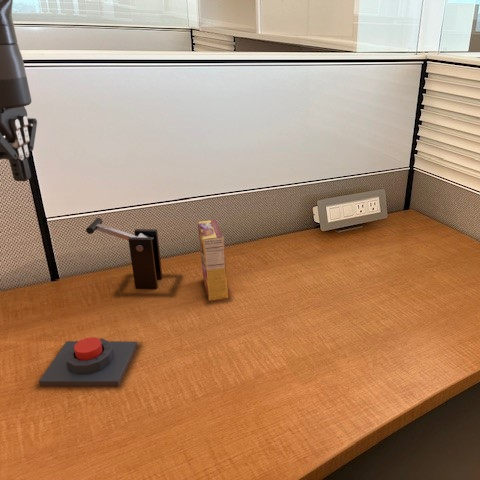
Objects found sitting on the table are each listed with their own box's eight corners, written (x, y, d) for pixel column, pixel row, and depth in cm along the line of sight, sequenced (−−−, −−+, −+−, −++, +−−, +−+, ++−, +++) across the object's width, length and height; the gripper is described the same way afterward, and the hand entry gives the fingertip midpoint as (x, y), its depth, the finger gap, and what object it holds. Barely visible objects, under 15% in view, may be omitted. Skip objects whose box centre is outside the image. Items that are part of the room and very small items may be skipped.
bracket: (117, 297, 99) (108, 242, 94) (129, 278, 106) (121, 225, 101) (171, 298, 100) (165, 243, 94) (179, 279, 107) (174, 226, 101)
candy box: (202, 284, 105) (197, 220, 99) (221, 282, 107) (218, 218, 100) (207, 306, 98) (202, 238, 91) (228, 303, 99) (225, 236, 92)
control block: (40, 389, 75) (36, 372, 73) (68, 349, 84) (64, 332, 82) (119, 389, 76) (116, 372, 74) (138, 349, 85) (135, 333, 83)
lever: (84, 234, 94) (87, 224, 93) (94, 224, 99) (96, 214, 98) (145, 254, 97) (148, 244, 96) (152, 243, 101) (155, 234, 100)
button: (71, 361, 76) (69, 352, 76) (81, 345, 80) (80, 337, 79) (97, 361, 77) (95, 352, 76) (106, 345, 80) (104, 337, 80)
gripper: (-3, 68, 81) (20, 168, 88) (-55, 78, 69) (-23, 192, 76) (43, 70, 81) (62, 169, 89) (-1, 80, 69) (26, 193, 77)
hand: (22, 179), depth 82 cm, fingers closed
